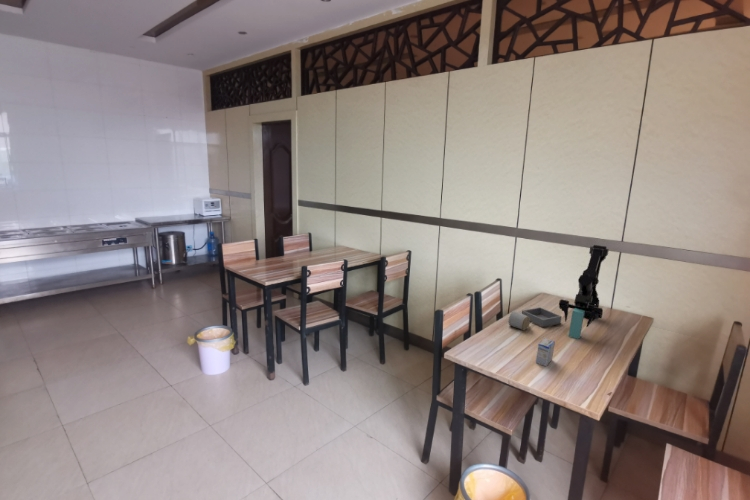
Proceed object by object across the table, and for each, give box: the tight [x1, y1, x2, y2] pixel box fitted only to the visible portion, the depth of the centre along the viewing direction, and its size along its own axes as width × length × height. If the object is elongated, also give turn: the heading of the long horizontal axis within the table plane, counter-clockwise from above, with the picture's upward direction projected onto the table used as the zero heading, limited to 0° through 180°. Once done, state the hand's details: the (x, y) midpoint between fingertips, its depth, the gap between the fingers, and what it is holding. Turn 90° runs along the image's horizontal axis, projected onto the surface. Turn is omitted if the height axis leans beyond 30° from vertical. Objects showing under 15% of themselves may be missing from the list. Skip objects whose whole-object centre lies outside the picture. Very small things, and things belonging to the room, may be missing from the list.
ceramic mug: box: [507, 310, 531, 331], centre depth 196 cm, size 11×8×8 cm
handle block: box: [568, 308, 585, 340], centre depth 187 cm, size 4×4×13 cm
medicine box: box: [535, 337, 556, 367], centre depth 162 cm, size 8×4×9 cm, turn 141°
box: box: [521, 306, 563, 328], centre depth 206 cm, size 14×14×4 cm
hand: (576, 323), depth 186 cm, fingers open, 9 cm apart
